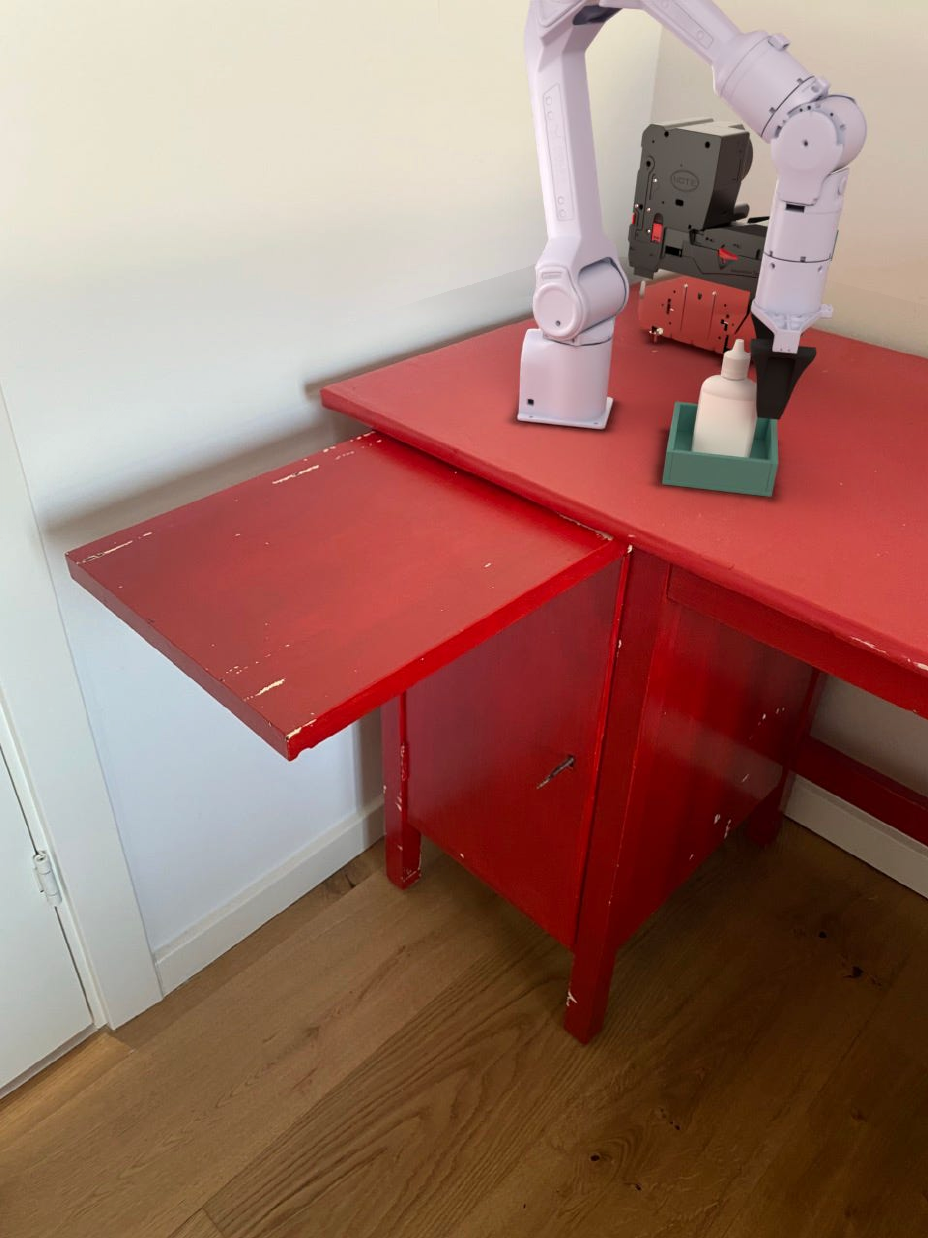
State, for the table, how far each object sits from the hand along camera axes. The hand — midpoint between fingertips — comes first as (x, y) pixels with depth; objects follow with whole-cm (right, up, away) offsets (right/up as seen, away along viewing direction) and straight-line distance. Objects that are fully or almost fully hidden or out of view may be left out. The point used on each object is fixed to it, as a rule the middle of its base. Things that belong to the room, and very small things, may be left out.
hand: (768, 401), depth 93 cm
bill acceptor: (+3, +14, +33) cm, 36 cm away
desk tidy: (-3, -5, +5) cm, 8 cm away
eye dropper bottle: (-3, -5, +5) cm, 8 cm away
